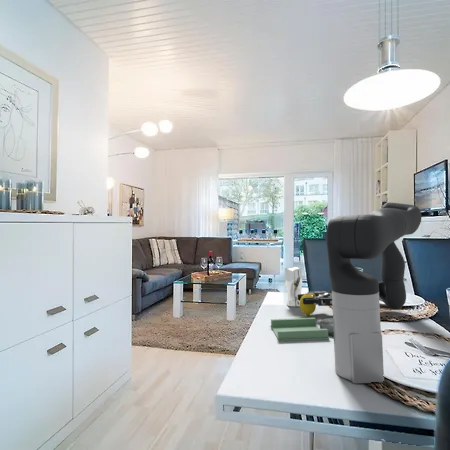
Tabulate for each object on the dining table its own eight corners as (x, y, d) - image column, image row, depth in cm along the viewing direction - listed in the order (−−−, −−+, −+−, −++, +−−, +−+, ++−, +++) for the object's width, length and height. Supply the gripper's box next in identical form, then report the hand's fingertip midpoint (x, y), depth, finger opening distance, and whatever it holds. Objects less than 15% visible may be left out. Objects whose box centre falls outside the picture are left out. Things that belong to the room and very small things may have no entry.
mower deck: (379, 337, 84) (379, 330, 84) (329, 339, 84) (329, 332, 84) (357, 322, 98) (356, 316, 98) (313, 324, 98) (313, 318, 98)
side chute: (329, 339, 84) (328, 330, 84) (278, 341, 84) (278, 332, 84) (314, 324, 97) (313, 317, 98) (270, 326, 97) (270, 318, 97)
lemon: (317, 318, 104) (315, 294, 105) (300, 317, 106) (299, 294, 106) (315, 314, 110) (314, 291, 110) (299, 313, 111) (298, 291, 111)
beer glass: (282, 304, 126) (281, 268, 126) (297, 302, 128) (296, 267, 128) (291, 308, 119) (289, 270, 120) (306, 306, 121) (305, 268, 122)
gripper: (337, 283, 116) (294, 285, 115) (355, 290, 102) (306, 292, 101) (338, 302, 116) (294, 305, 115) (356, 312, 102) (307, 315, 100)
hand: (300, 299), depth 108 cm, fingers closed on lemon, 5 cm apart
